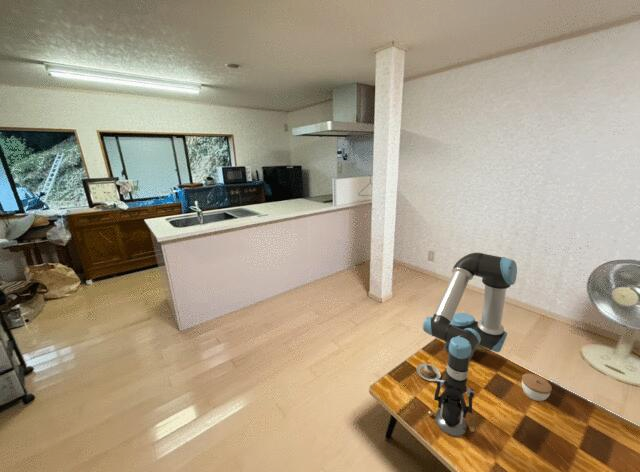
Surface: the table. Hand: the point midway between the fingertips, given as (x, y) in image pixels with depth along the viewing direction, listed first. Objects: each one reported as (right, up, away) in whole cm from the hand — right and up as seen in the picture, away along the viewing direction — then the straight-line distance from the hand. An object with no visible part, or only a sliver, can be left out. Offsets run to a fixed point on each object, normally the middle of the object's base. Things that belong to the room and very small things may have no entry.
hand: (450, 417), depth 110 cm
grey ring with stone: (+2, +4, +27) cm, 27 cm away
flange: (0, -3, +1) cm, 3 cm away
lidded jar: (+45, +2, +12) cm, 47 cm away
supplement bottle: (0, -1, 0) cm, 1 cm away
